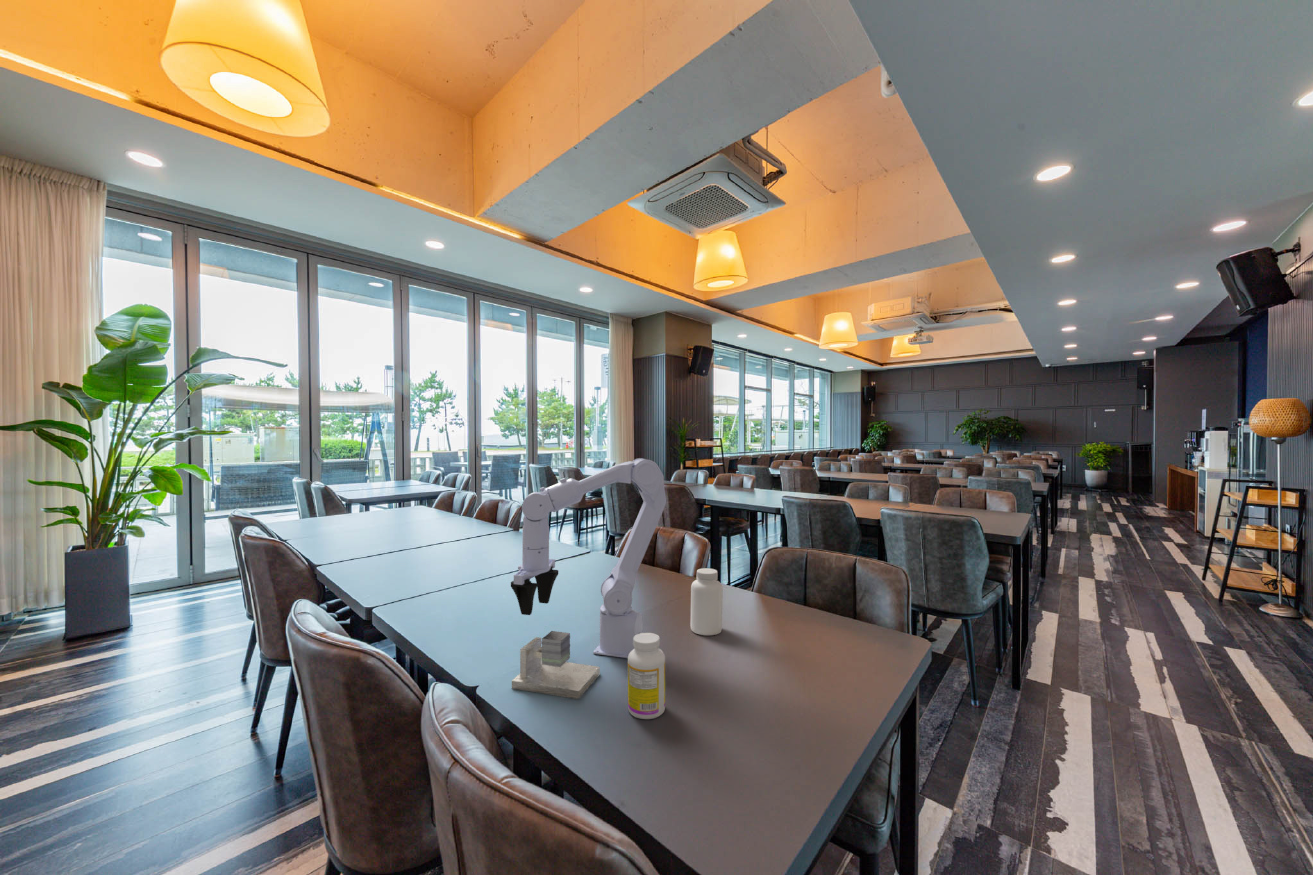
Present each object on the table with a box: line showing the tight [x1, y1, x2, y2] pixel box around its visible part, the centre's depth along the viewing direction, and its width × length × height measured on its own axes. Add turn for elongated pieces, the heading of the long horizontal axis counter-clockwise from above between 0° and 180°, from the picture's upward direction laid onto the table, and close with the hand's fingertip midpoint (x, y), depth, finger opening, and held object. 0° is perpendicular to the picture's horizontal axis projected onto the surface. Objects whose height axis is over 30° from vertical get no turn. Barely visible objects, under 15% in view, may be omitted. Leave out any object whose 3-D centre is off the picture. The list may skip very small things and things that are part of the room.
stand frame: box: [511, 636, 601, 700], centre depth 96 cm, size 14×10×7 cm
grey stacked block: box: [541, 630, 571, 667], centre depth 95 cm, size 4×4×5 cm
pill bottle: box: [689, 567, 724, 636], centre depth 122 cm, size 8×8×15 cm
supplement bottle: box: [627, 632, 666, 720], centre depth 85 cm, size 7×7×13 cm
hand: (535, 608), depth 107 cm, fingers open, 7 cm apart
